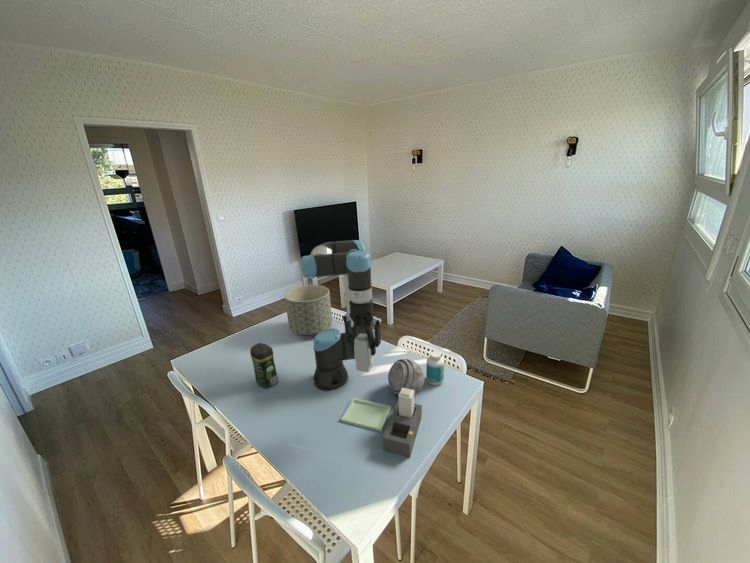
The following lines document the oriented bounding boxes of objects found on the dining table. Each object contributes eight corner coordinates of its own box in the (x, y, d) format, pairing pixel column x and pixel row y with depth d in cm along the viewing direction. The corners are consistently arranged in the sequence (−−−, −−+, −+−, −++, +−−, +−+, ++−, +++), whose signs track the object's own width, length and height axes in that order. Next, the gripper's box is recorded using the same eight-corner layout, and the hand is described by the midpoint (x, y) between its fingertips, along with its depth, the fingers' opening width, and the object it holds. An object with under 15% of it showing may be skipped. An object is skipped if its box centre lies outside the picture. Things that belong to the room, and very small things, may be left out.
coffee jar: (253, 382, 138) (245, 347, 131) (268, 373, 143) (262, 339, 137) (265, 391, 132) (258, 354, 126) (281, 381, 138) (275, 345, 131)
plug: (356, 370, 107) (354, 338, 103) (361, 362, 111) (359, 332, 107) (368, 372, 105) (366, 340, 101) (373, 365, 109) (371, 333, 105)
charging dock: (383, 451, 101) (381, 416, 96) (398, 412, 117) (397, 381, 112) (409, 458, 98) (409, 423, 93) (421, 418, 114) (422, 385, 109)
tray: (340, 422, 114) (340, 419, 113) (353, 400, 124) (353, 397, 124) (381, 432, 108) (381, 429, 108) (391, 409, 119) (391, 406, 118)
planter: (282, 339, 172) (276, 300, 164) (300, 319, 195) (295, 284, 187) (325, 342, 168) (321, 302, 160) (337, 321, 191) (334, 285, 183)
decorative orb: (383, 386, 132) (382, 356, 127) (413, 377, 137) (413, 348, 132) (398, 409, 119) (397, 377, 114) (430, 398, 124) (431, 367, 119)
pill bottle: (443, 387, 130) (444, 360, 125) (425, 385, 131) (426, 358, 127) (443, 376, 137) (444, 350, 132) (426, 374, 138) (427, 348, 134)
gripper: (331, 301, 99) (337, 362, 107) (382, 307, 93) (384, 371, 101) (341, 292, 106) (346, 351, 114) (390, 297, 100) (391, 359, 108)
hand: (364, 360), depth 107 cm, fingers closed on plug, 4 cm apart
